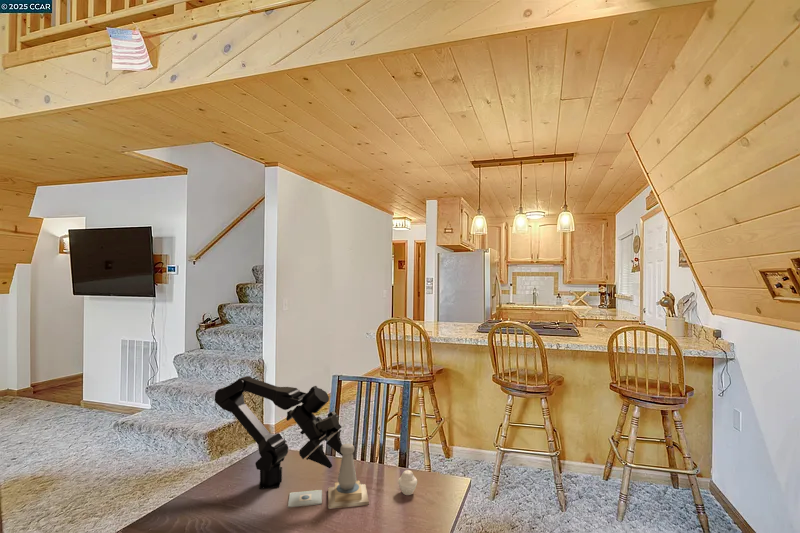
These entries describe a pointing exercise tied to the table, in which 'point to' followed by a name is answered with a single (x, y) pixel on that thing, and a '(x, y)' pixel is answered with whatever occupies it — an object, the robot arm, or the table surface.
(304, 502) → the pale grey rectangular tile
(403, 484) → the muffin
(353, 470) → the beige mushroom knob
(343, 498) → the foundation
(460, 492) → the table surface
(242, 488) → the table surface
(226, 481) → the table surface
